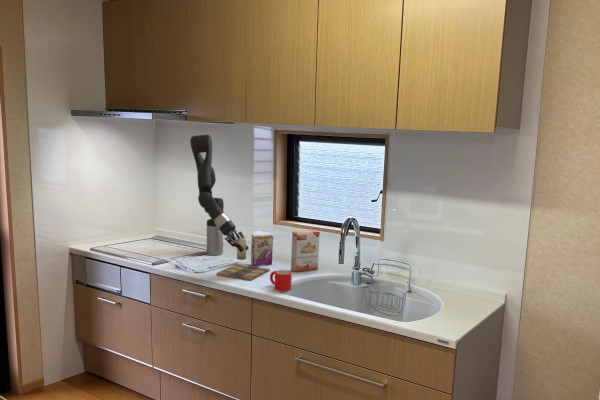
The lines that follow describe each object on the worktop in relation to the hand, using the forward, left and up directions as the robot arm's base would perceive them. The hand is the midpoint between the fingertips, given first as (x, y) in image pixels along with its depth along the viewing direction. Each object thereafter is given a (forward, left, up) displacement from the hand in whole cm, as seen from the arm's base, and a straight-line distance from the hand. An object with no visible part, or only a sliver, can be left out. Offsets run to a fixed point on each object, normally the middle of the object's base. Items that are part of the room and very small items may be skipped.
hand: (244, 250), depth 268 cm
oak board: (-4, -3, -13) cm, 14 cm away
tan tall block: (0, -2, -5) cm, 5 cm away
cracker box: (-26, +22, -14) cm, 37 cm away
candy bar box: (-24, -3, -14) cm, 28 cm away
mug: (+9, +24, -14) cm, 29 cm away
